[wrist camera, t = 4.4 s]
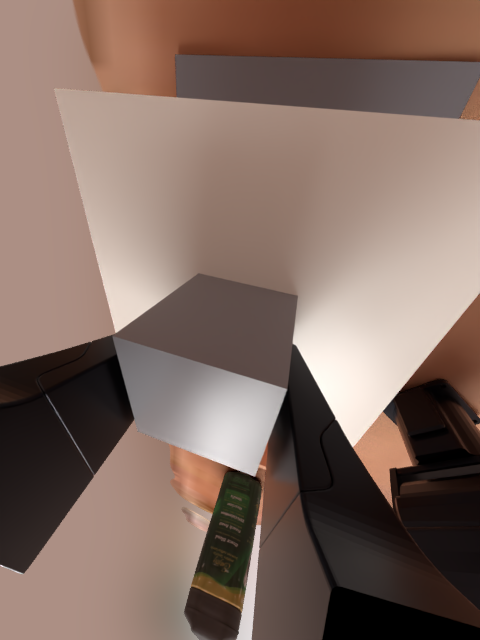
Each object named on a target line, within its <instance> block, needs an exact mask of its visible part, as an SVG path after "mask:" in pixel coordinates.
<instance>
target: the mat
mask: <svg viewBox="0 0 480 640" xmlns="http://www.w3.org/2000/svg"><path fill="white" fill-rule="evenodd" d="M175 65H176V91H177V97H178V98H191V99H204V100H217V101H230V102H244V103H257V104H270V105H283V106H296V107H309V108H323V109H336V110H349V111H362V112H375V113H389V114H402V115H415V116H428V117H441V118H454V119H459V118H460V116H461V114H462V112H463V110H464V108H465V106H466V104H467V102H468V100H469V98H470V96H471V94H472V92H473V90H474V88H475V86H476V84H477V82H478V80H479V78H480V62H457V61H417V60H377V59H337V58H297V57H257V56H216V55H176V54H175Z"/></svg>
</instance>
